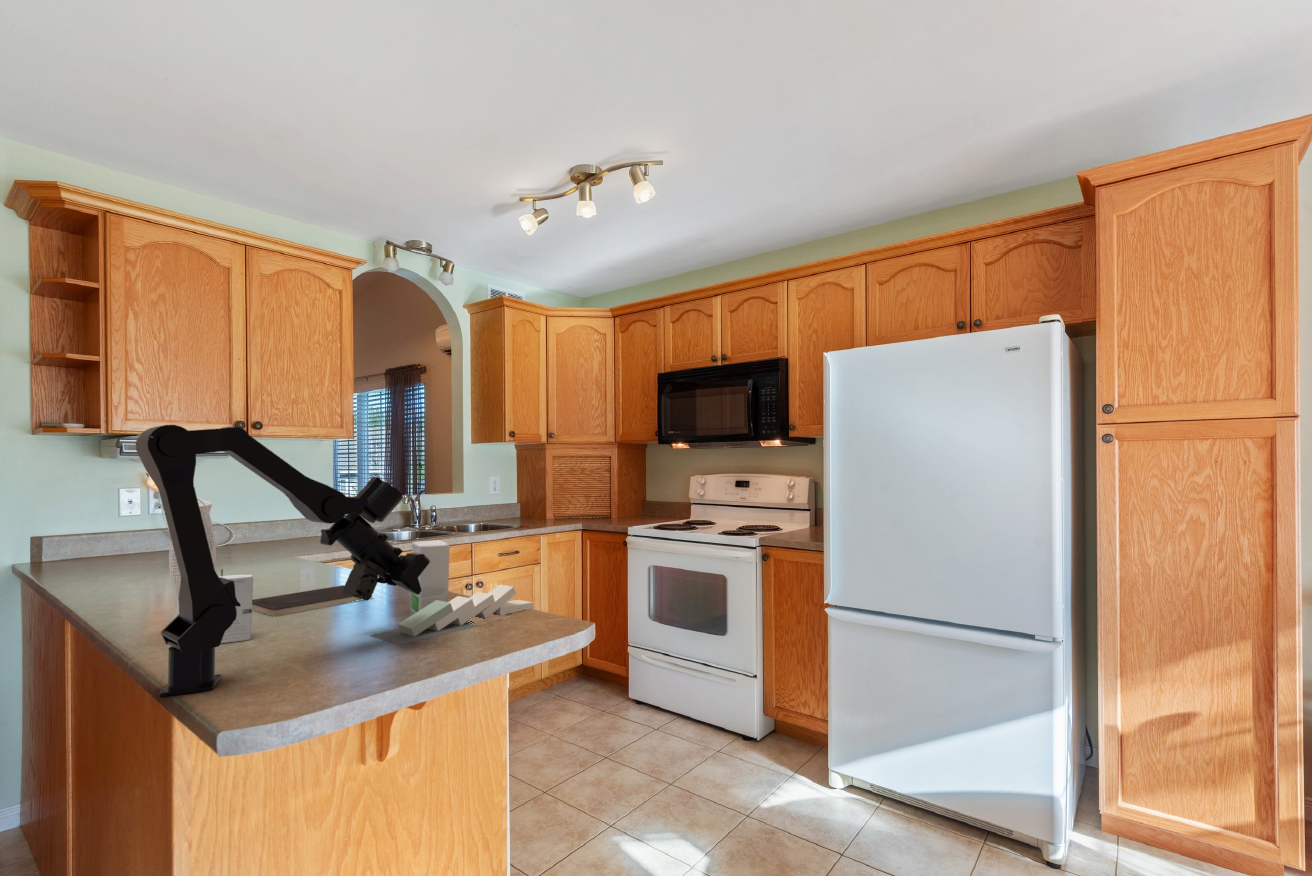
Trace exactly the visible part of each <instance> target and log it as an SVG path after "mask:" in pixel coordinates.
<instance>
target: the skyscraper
mask: <svg viewBox="0 0 1312 876" xmlns="http://www.w3.org/2000/svg"><path fill="white" fill-rule="evenodd" d="M197 500H198V504H199V508H200V512H201V516H202V520H203V524H204V528H205V532H206V536H207V540H208V544H209V548H210V552H211V557H212V561H213V565H214V569H215V570H216V561H217V545H216V536H215V532H214V527H213V522H212V518H211V515H210V514H211V513H210V510H211V508H212V505H213V504H212V502H211V501H208V500H207V501H206V500H203V499H202V498H201V497H199V496H197ZM168 553H169V554H168V566H169V569H168V570H169V580H170V585H171V592H172V596H173V600H174V604H175V608H176V610H175V614H174V616H173V620H174V619H175V618H176V617H177V616H178V615H179V590H180V583H181V575H180V571H179V567H178V563H177V559H176V556H175V552H174V548H173V544H172V540H171V539H170V544H169V552H168ZM220 576H224V568H220Z"/></svg>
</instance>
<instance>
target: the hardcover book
mask: <svg viewBox="0 0 1312 876" xmlns="http://www.w3.org/2000/svg"><path fill="white" fill-rule="evenodd" d="M344 586H345V584H344V585H338V586H337V585H336V586H332V587H331V586H330V587H323V588H318V589H317V588H316V589H311V590H305V591H299V592H293V593H287V594H286V593H285V594H280V595H274V596H273V595H272V596H268V597H262V598H256V599H252V609H253V610H252V611H254V610H256V611H255V612H257V611H259V613H261V612H262V613H261V614H264V613H266V614H265V615H267V616H270V615H271V616H270V617H273V616H275V617H280V616H286V615H289V614H288V613H291V614H295V613H294V612H297V613H301V612H300V611H302V612H306V611H305V610H308V611H311V609H313V610H317V609H316V608H319V609H322V608H323V607H324V608H329V606H330V607H335V606H340V605H343V604H342V603H346V604H348V603H347V602H351V603H353V602H352V601H356V600H361V599H358V598H355V597H352V596H349V595H345V594H343V588H344ZM374 592H375V591H374ZM374 592H373V594H374ZM371 597H372V598H373V595H372V596H371ZM334 605H335V606H334ZM285 614H286V615H285ZM279 615H280V616H279Z"/></svg>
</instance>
